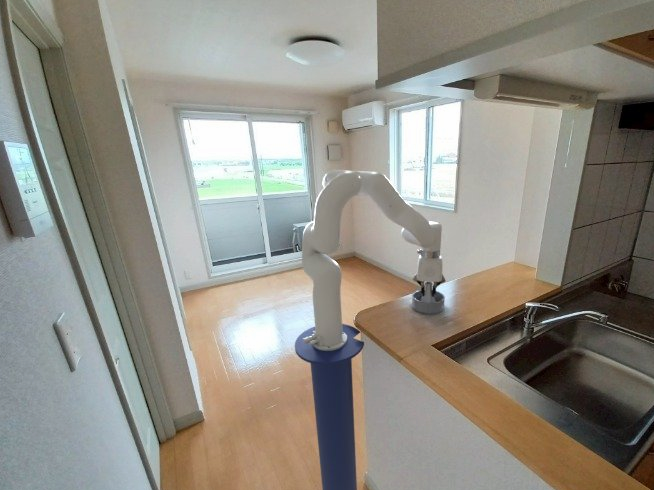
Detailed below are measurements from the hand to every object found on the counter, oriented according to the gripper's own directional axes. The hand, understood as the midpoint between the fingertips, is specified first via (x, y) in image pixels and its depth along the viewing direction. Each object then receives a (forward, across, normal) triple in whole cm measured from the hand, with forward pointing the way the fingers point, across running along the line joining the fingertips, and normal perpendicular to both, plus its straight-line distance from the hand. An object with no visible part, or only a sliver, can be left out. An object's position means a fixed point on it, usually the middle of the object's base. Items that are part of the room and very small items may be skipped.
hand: (428, 294), depth 131 cm
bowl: (+6, 0, 0) cm, 6 cm away
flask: (+5, 0, 0) cm, 5 cm away
